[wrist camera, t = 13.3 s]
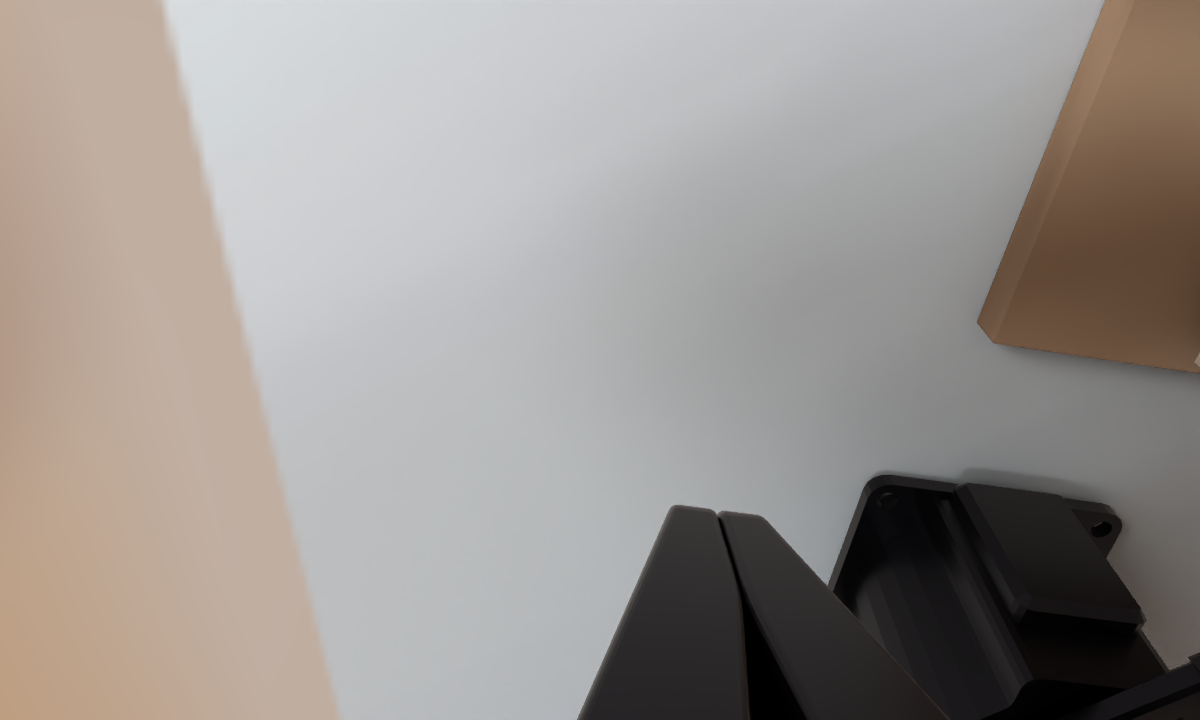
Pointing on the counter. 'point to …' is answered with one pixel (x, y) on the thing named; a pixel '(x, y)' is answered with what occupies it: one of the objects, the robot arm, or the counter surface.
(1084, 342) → the wooden block holder
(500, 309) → the counter surface
